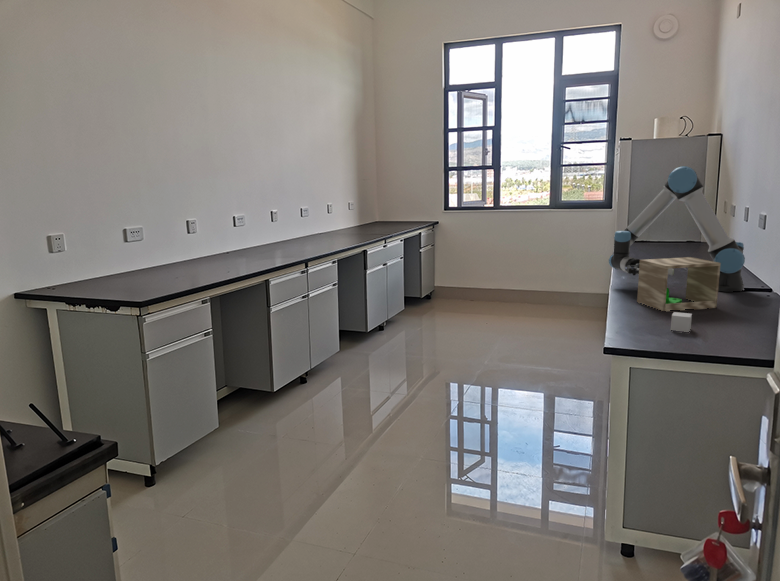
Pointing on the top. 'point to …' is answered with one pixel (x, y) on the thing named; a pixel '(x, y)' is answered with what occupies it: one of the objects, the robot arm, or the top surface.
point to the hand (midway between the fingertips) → (659, 272)
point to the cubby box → (698, 283)
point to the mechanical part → (671, 299)
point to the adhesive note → (681, 321)
